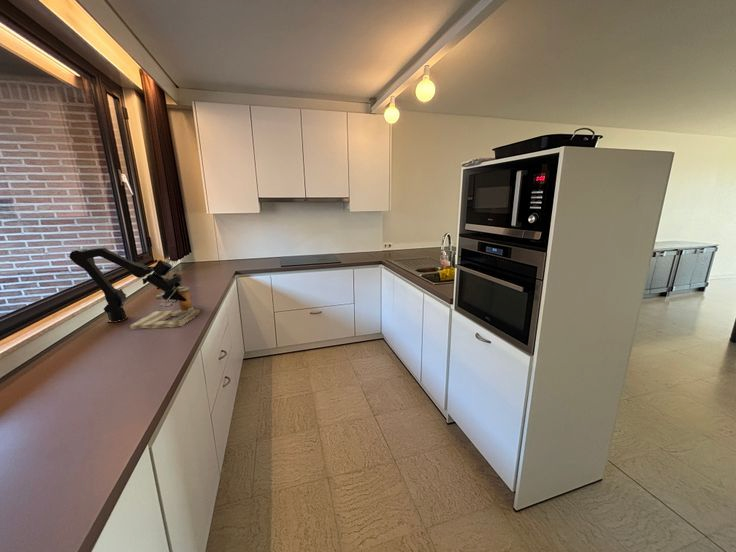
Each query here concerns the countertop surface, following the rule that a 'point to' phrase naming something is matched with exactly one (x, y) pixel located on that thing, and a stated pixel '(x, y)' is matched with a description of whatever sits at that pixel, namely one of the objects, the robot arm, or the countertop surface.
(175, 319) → the cross bar
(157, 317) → the rectangular frame
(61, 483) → the countertop surface
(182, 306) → the cord reel
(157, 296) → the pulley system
